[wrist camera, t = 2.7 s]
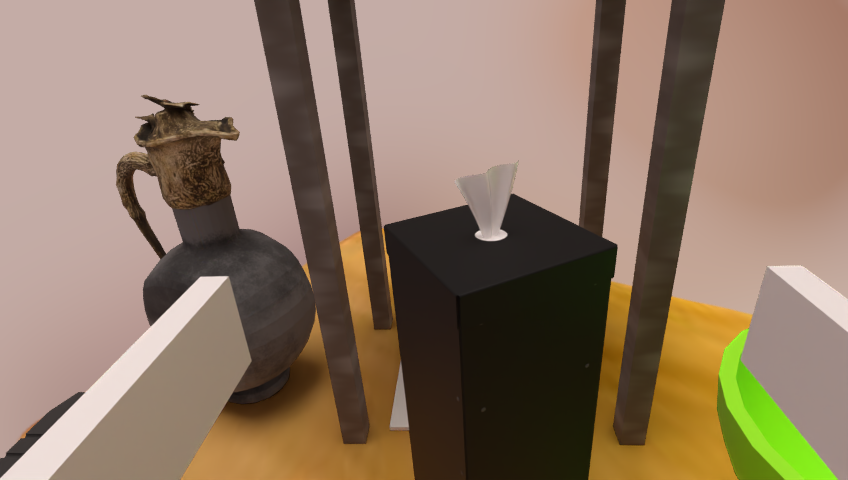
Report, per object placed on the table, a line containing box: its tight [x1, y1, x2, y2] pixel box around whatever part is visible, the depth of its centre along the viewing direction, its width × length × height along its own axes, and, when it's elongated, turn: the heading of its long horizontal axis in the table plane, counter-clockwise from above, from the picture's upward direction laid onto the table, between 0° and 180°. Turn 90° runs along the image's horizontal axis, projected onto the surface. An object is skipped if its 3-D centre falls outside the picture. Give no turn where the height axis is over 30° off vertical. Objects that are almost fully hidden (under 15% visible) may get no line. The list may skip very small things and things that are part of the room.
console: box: [254, 0, 725, 445], centre depth 41 cm, size 26×20×38 cm
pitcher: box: [116, 95, 316, 404], centre depth 45 cm, size 11×19×30 cm, turn 64°
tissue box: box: [384, 162, 617, 480], centre depth 27 cm, size 8×8×28 cm
